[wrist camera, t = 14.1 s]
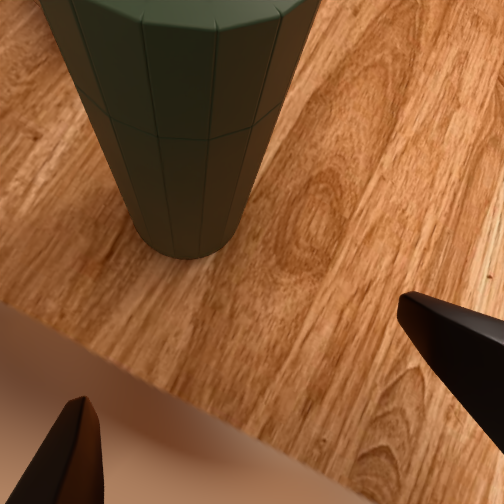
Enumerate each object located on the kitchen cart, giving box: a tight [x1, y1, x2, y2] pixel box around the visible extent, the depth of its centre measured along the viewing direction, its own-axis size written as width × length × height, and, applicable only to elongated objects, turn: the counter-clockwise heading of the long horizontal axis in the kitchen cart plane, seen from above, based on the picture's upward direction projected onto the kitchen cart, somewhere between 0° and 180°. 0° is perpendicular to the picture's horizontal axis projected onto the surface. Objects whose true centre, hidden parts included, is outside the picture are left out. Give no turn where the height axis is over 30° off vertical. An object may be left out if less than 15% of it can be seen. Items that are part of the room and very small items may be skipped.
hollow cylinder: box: [39, 0, 321, 259], centre depth 13 cm, size 6×6×14 cm
